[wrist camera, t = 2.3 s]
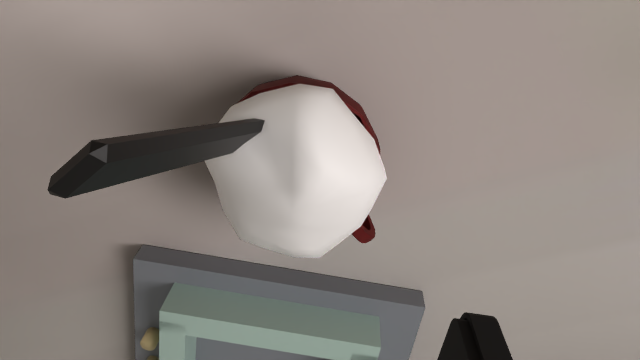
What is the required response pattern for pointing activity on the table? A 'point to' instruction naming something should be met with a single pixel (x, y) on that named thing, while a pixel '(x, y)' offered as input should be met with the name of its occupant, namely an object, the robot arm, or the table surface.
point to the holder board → (264, 312)
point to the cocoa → (261, 165)
